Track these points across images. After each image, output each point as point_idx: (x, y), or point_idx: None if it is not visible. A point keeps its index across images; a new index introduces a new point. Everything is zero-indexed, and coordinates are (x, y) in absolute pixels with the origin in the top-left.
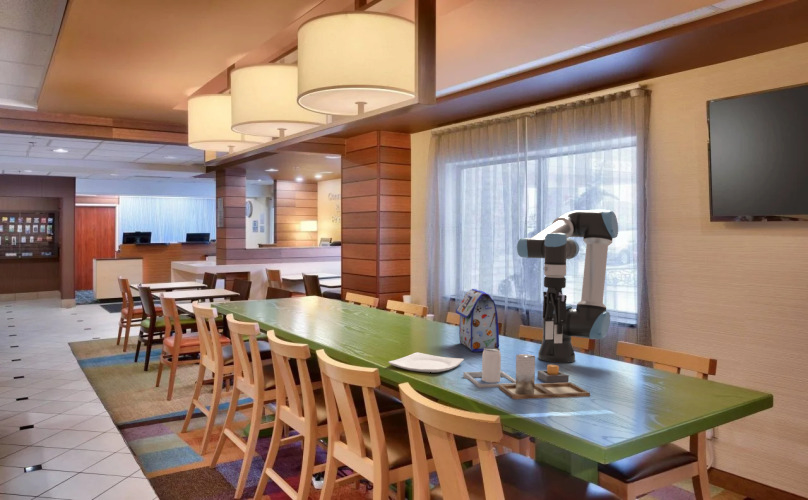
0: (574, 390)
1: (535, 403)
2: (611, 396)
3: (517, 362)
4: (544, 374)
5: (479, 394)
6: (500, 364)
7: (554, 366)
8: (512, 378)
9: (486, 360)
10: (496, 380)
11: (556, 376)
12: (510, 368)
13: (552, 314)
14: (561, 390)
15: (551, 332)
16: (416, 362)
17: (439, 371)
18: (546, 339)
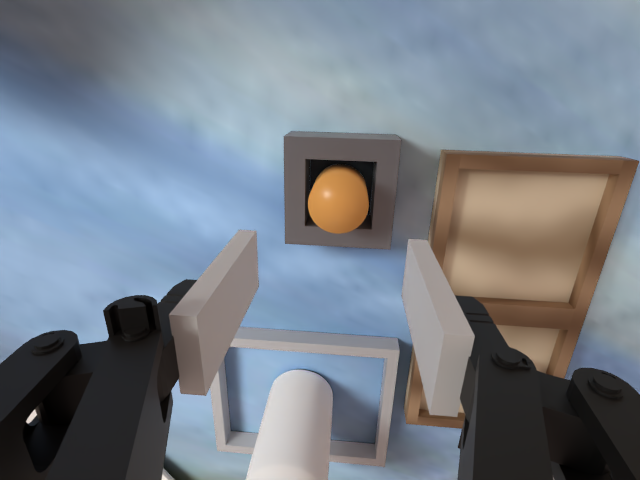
0: (527, 180)
1: (573, 368)
2: (635, 21)
3: None
4: (359, 247)
5: (423, 463)
6: (314, 430)
7: (350, 203)
8: (323, 348)
9: None
10: (331, 399)
11: (394, 204)
12: (91, 247)
13: (148, 404)
14: (506, 234)
15: (240, 271)
16: None
17: None
18: (258, 283)
